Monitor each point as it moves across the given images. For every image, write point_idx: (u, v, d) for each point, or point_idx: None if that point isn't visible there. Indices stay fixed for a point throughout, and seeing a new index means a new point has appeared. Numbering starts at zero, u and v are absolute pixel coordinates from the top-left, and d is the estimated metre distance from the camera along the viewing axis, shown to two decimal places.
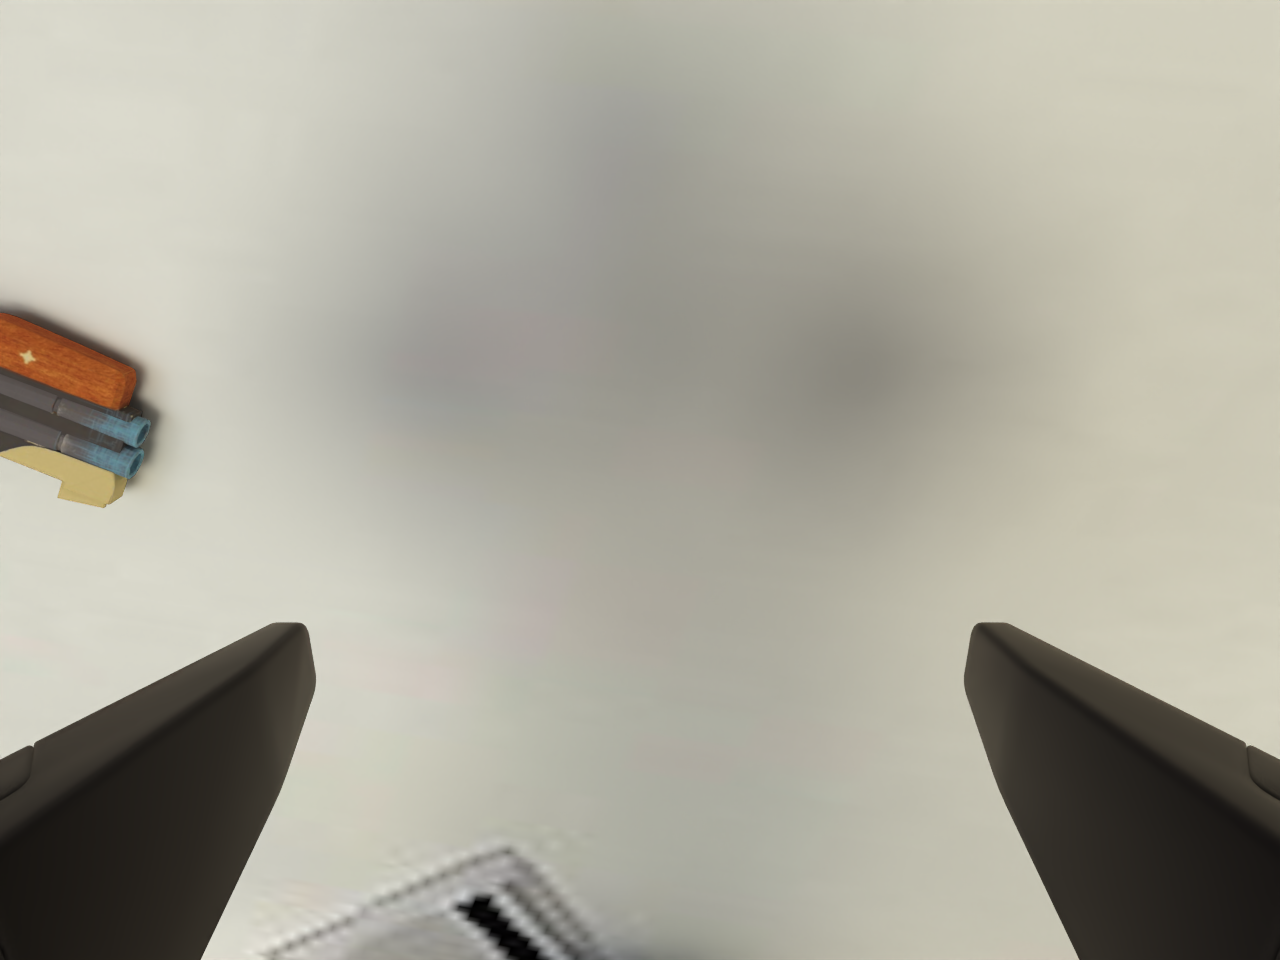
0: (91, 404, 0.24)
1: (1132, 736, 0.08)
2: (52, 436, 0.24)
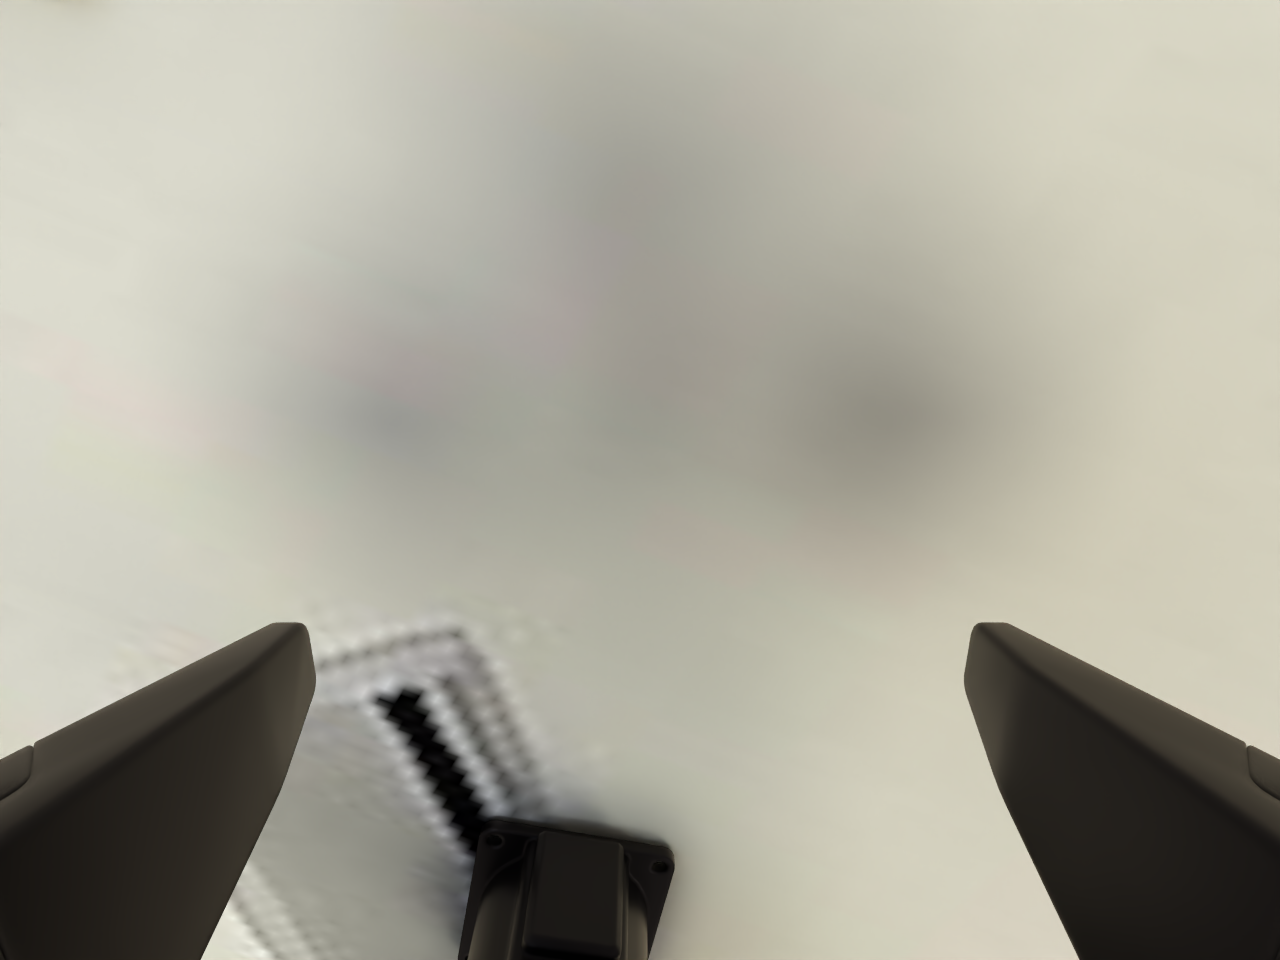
0: None
1: (1132, 736, 0.08)
2: None
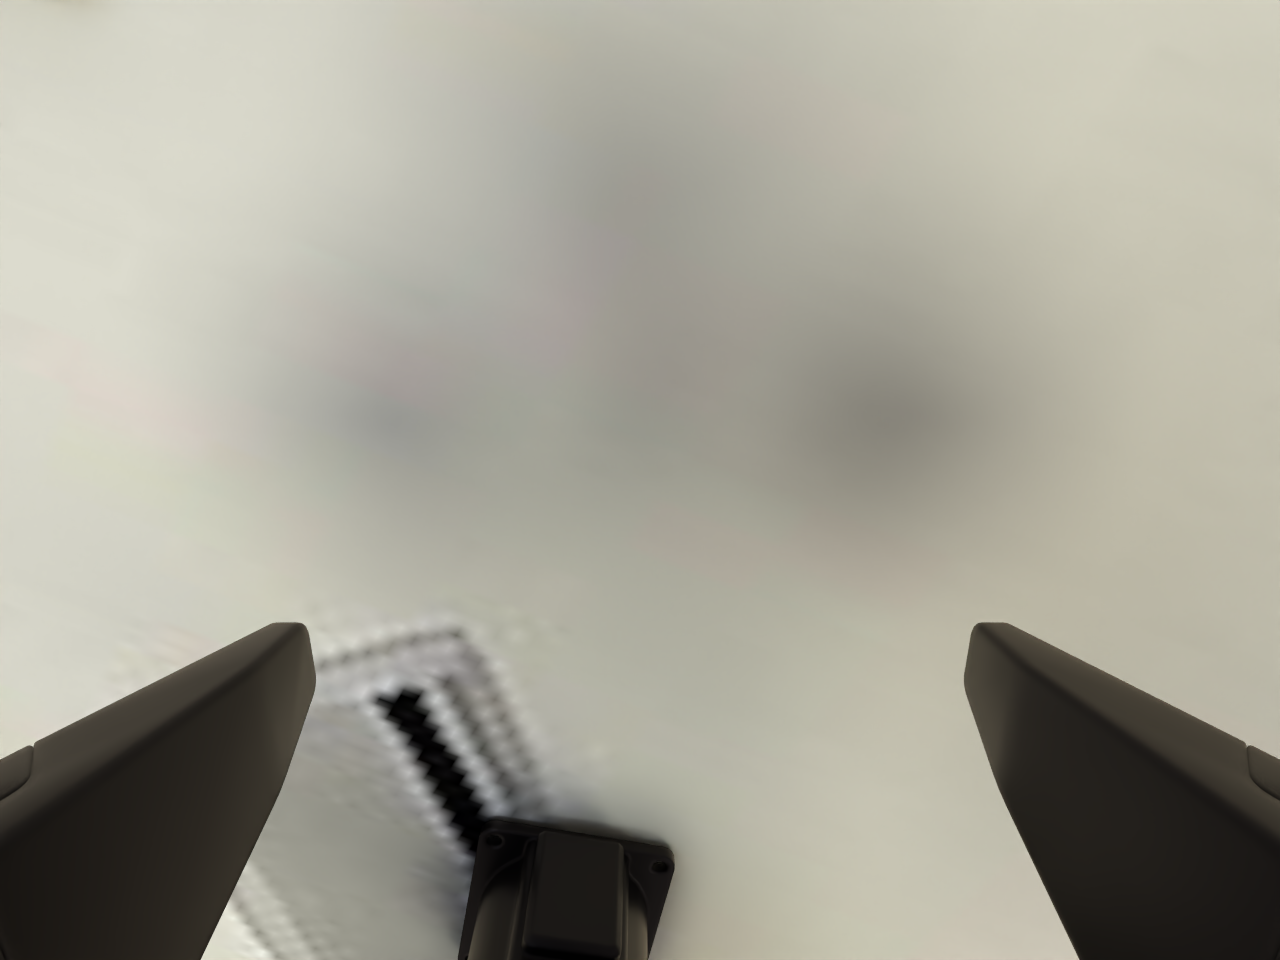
0: None
1: (1132, 736, 0.08)
2: None
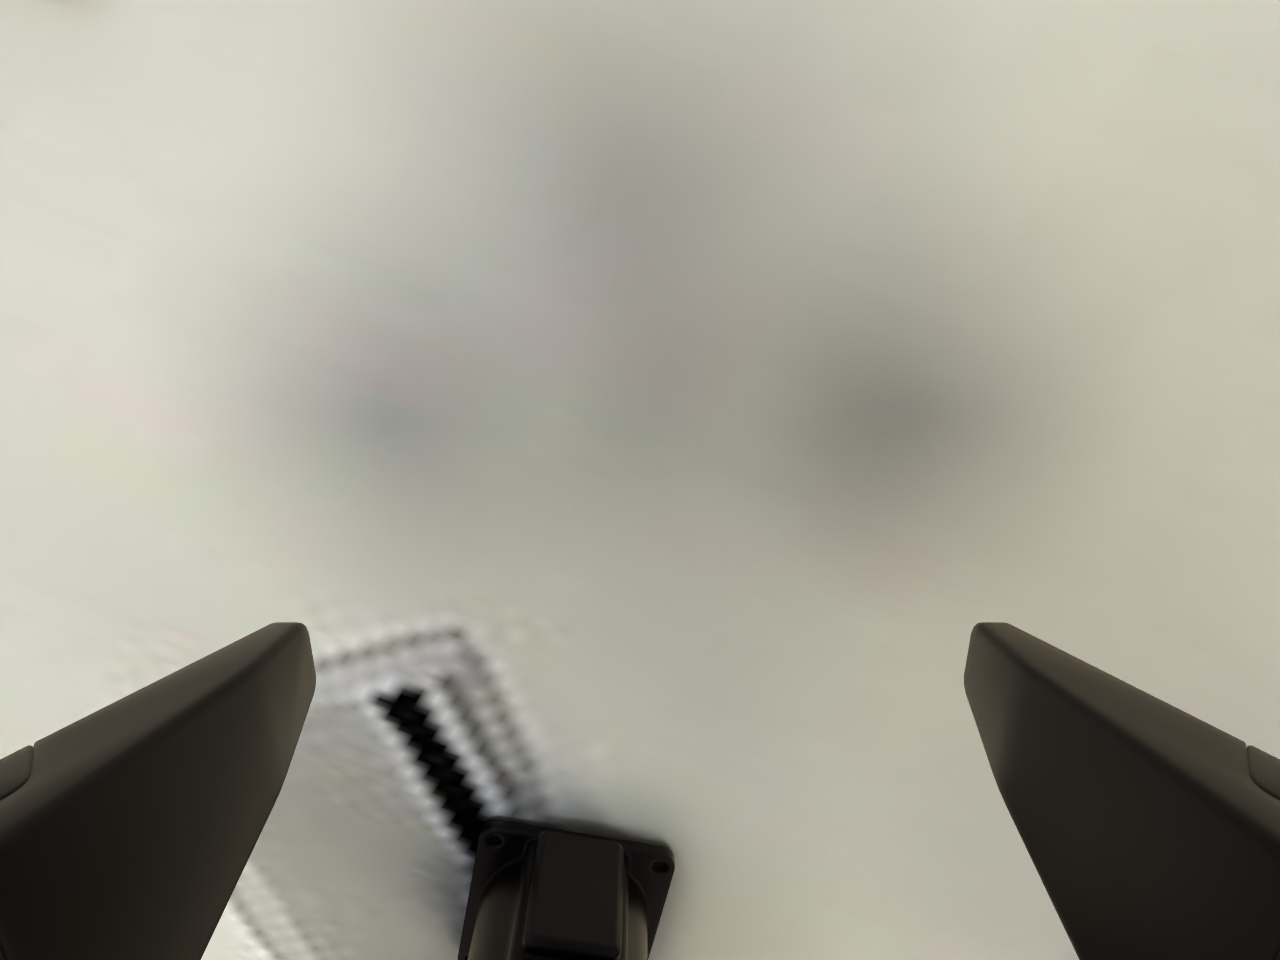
0: None
1: (1132, 736, 0.08)
2: None
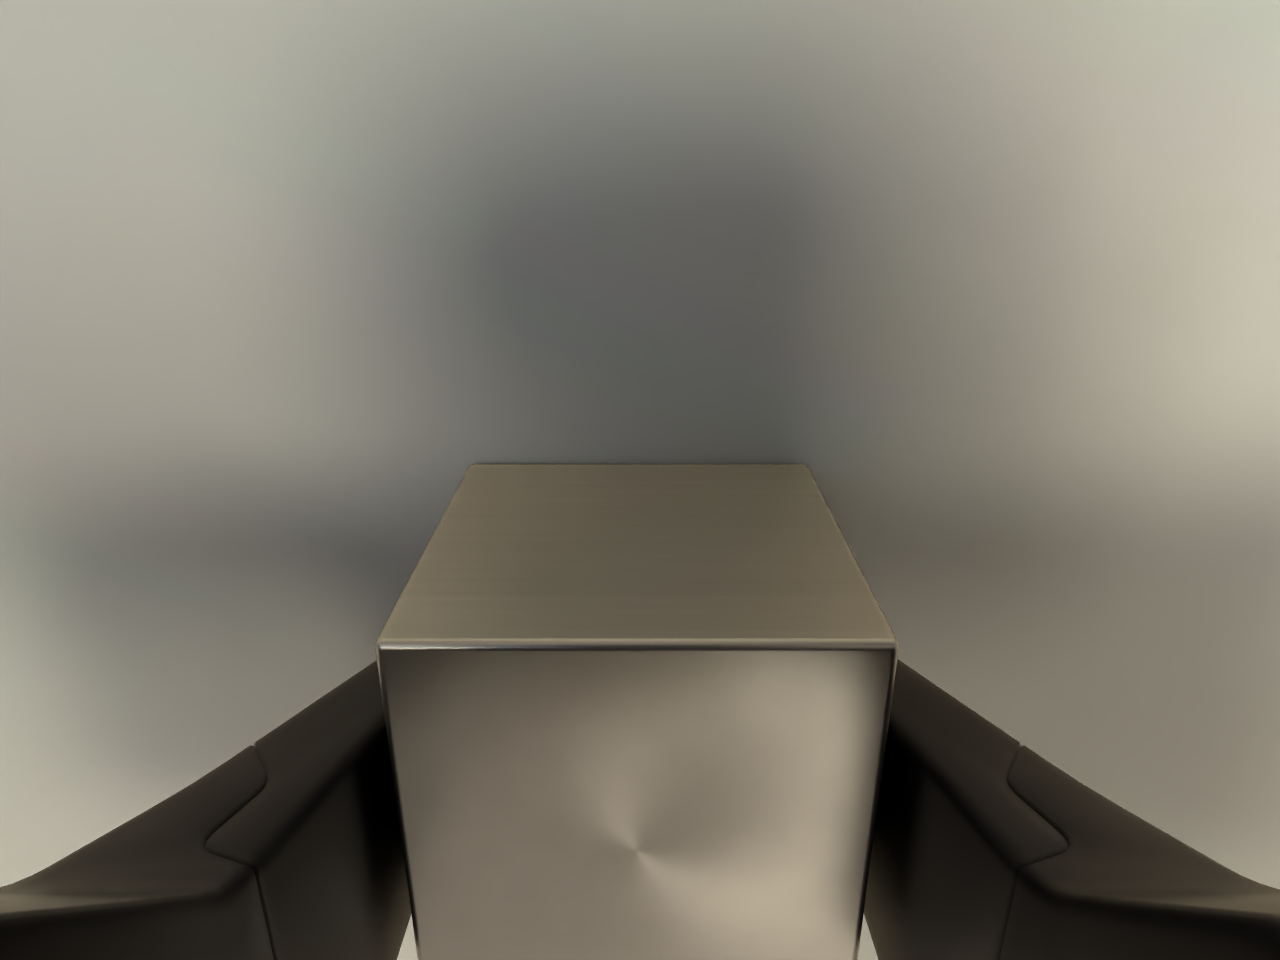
0: None
1: (910, 736, 0.08)
2: None
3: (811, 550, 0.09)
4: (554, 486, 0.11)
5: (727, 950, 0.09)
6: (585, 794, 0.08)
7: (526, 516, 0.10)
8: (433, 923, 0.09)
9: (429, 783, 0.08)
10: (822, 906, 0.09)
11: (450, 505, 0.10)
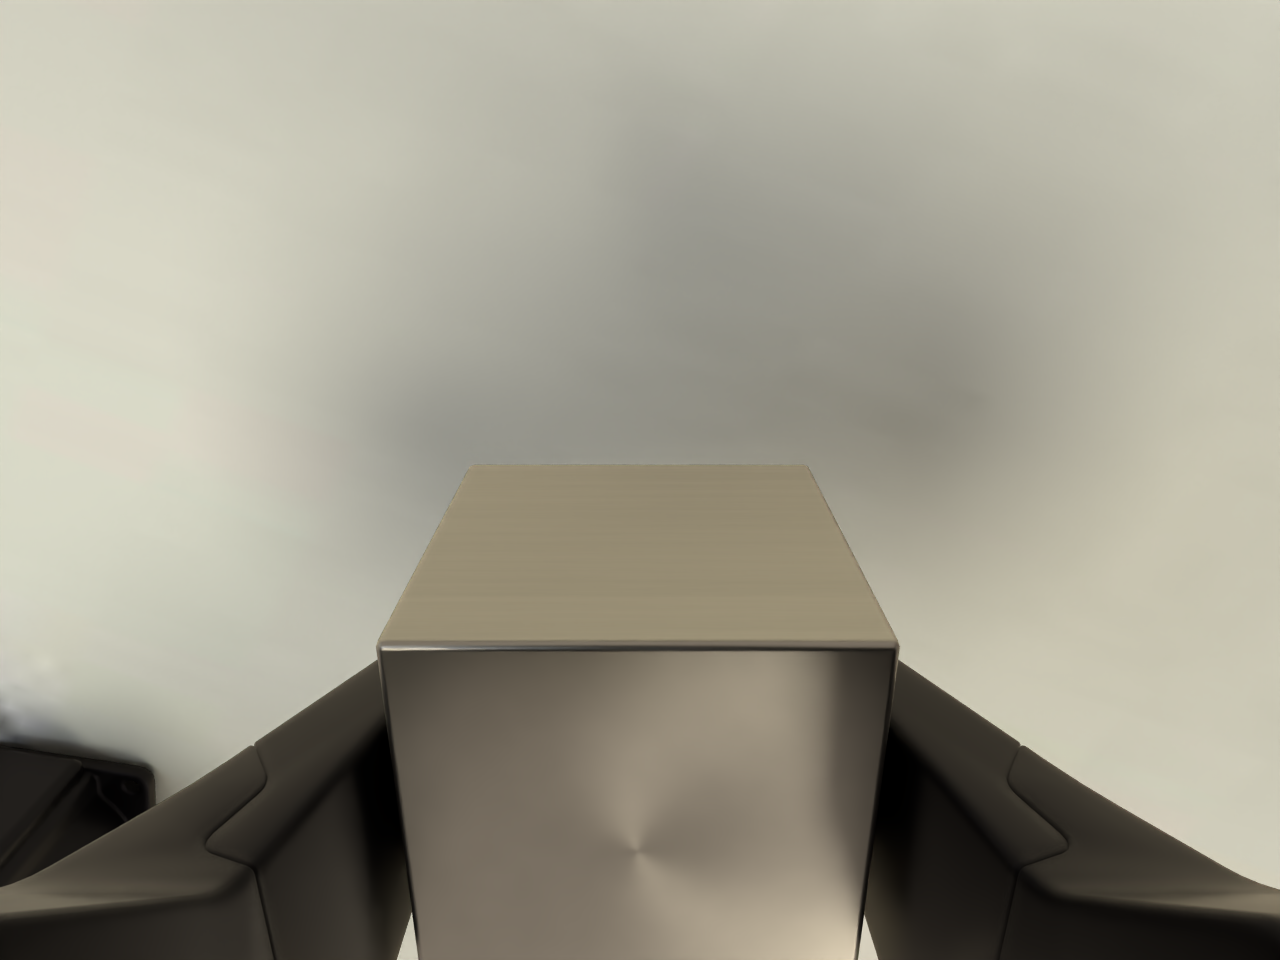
0: None
1: (910, 736, 0.08)
2: None
3: (812, 550, 0.09)
4: (554, 486, 0.11)
5: (728, 951, 0.09)
6: (586, 794, 0.08)
7: (527, 516, 0.10)
8: (434, 923, 0.09)
9: (430, 783, 0.08)
10: (823, 906, 0.09)
11: (451, 505, 0.10)
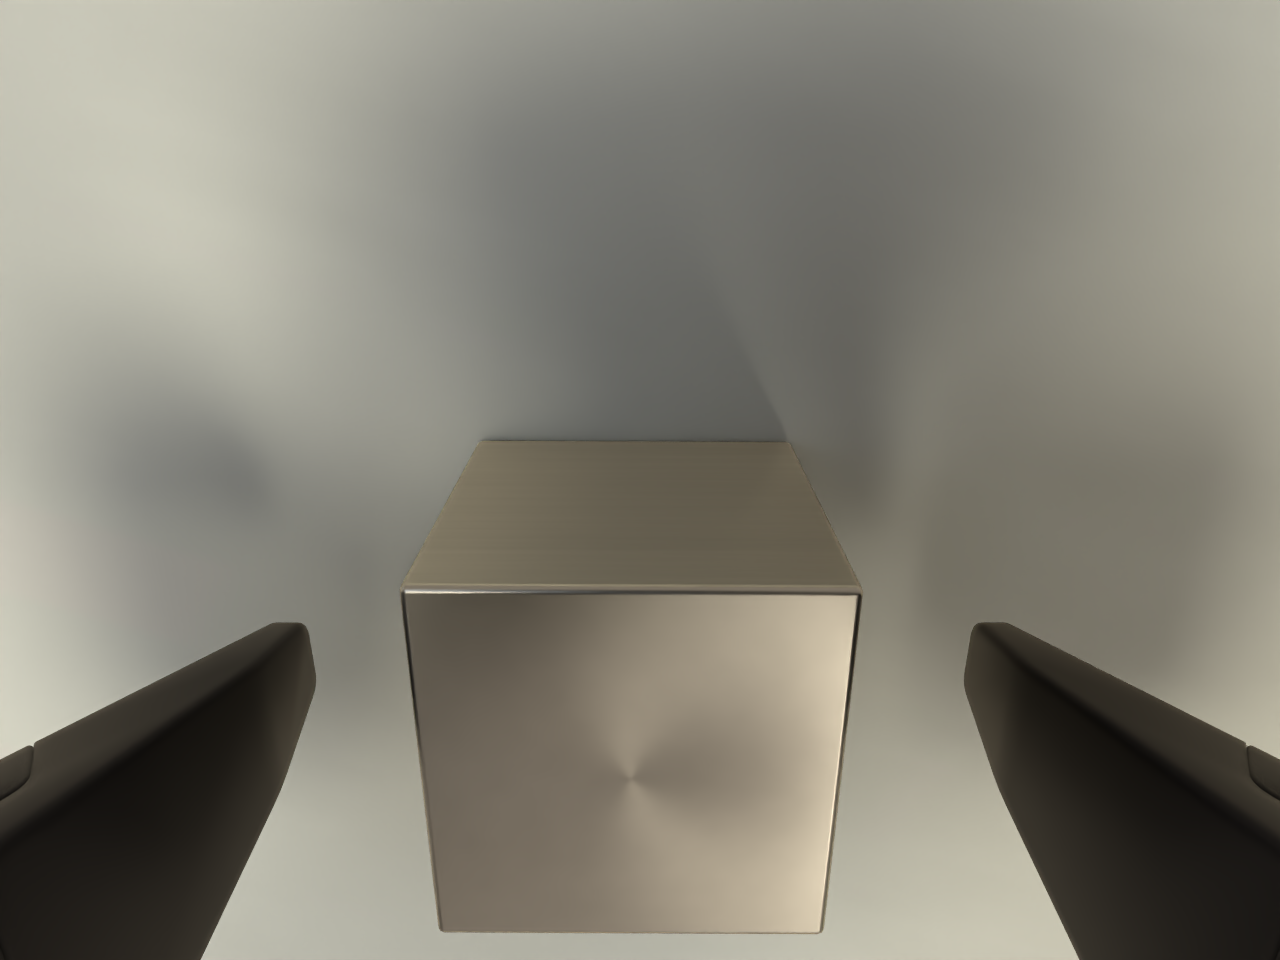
0: None
1: (1132, 736, 0.08)
2: None
3: (790, 513, 0.10)
4: (557, 459, 0.12)
5: (712, 871, 0.10)
6: (584, 725, 0.09)
7: (532, 484, 0.11)
8: (448, 845, 0.10)
9: (446, 715, 0.09)
10: (797, 831, 0.10)
11: (462, 475, 0.11)
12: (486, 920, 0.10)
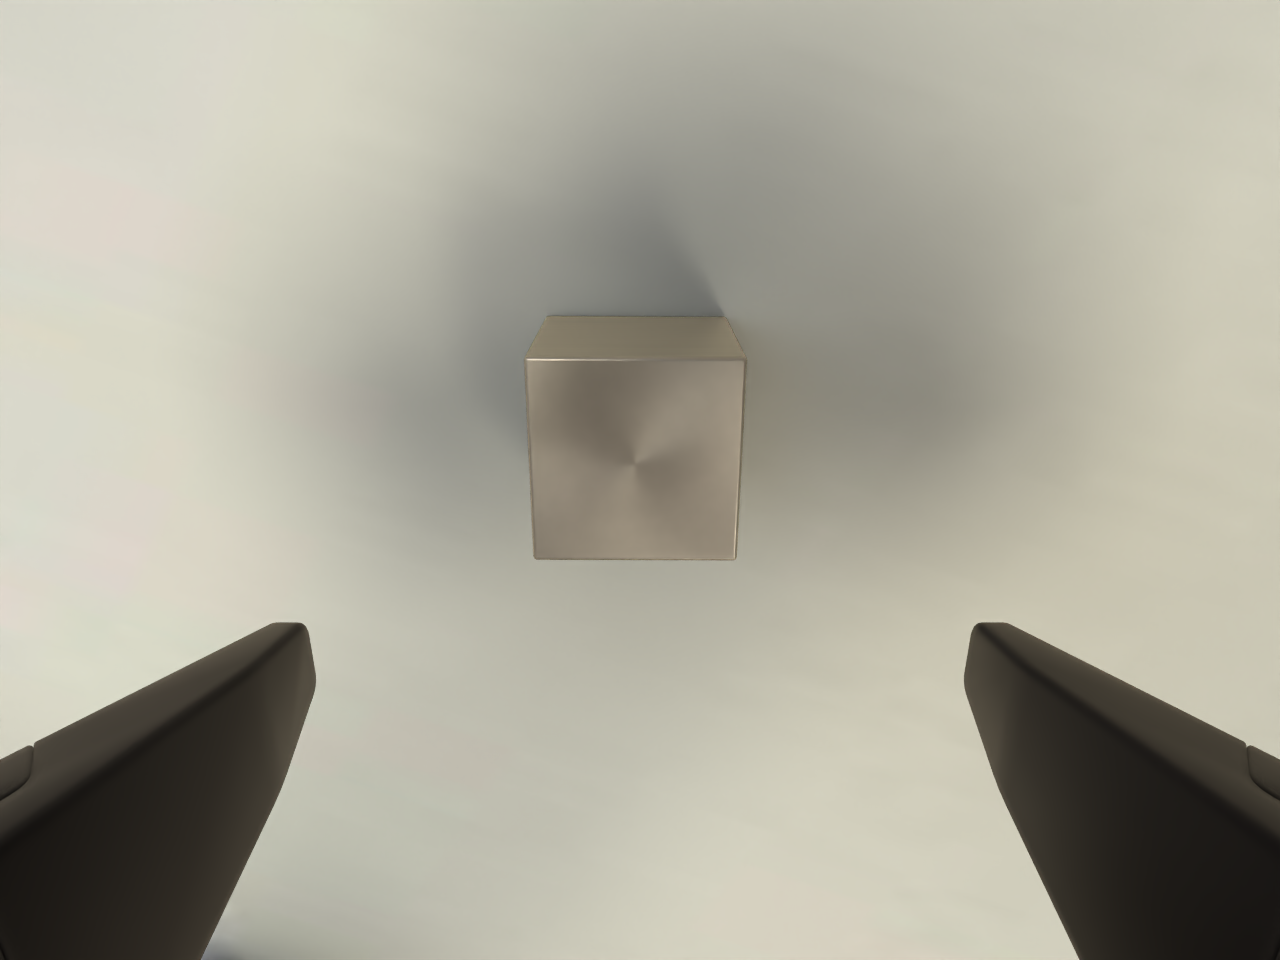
0: None
1: (1132, 736, 0.08)
2: None
3: (718, 338, 0.19)
4: (593, 322, 0.21)
5: (677, 520, 0.19)
6: (612, 432, 0.18)
7: (580, 329, 0.20)
8: (541, 504, 0.19)
9: (544, 427, 0.18)
10: (720, 495, 0.19)
11: (541, 327, 0.20)
12: (559, 551, 0.19)
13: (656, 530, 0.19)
